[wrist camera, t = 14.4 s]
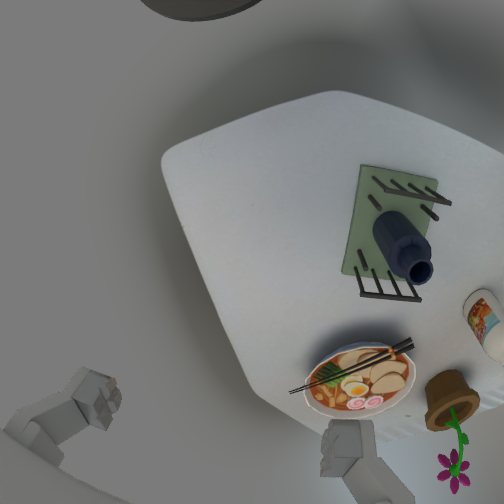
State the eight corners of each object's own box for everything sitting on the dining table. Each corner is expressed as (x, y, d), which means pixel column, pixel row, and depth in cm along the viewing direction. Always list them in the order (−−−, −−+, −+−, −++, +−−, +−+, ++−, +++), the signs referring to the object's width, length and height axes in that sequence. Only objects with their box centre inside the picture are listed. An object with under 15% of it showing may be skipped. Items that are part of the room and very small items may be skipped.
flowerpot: (406, 397, 61) (426, 502, 34) (441, 359, 55) (479, 470, 28) (443, 403, 61) (467, 495, 34) (477, 367, 55) (515, 463, 28)
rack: (360, 164, 42) (375, 176, 33) (435, 179, 40) (462, 195, 32) (341, 270, 50) (348, 302, 41) (409, 278, 48) (426, 309, 40)
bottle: (376, 207, 43) (404, 244, 30) (412, 213, 42) (449, 251, 30) (368, 244, 46) (390, 292, 33) (403, 249, 45) (433, 296, 32)
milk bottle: (487, 280, 46) (536, 345, 28) (494, 305, 47) (536, 368, 29) (458, 302, 48) (499, 373, 31) (467, 325, 50) (503, 393, 32)
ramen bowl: (326, 406, 65) (326, 433, 58) (278, 350, 59) (275, 380, 52) (422, 368, 56) (431, 395, 49) (394, 298, 50) (406, 326, 43)
